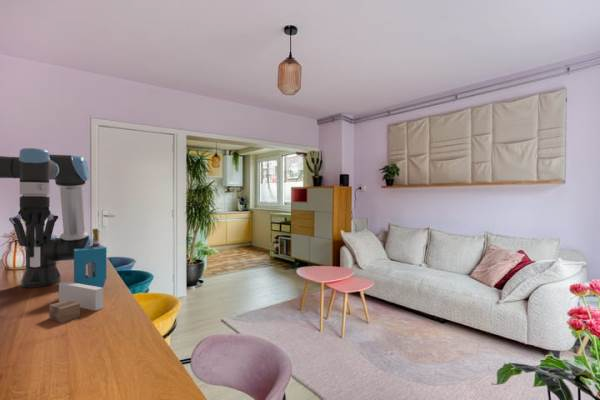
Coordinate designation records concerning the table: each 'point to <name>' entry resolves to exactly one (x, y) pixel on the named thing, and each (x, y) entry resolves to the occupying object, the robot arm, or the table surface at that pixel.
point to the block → (83, 258)
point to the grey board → (82, 295)
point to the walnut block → (64, 311)
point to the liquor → (95, 244)
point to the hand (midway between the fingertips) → (35, 266)
